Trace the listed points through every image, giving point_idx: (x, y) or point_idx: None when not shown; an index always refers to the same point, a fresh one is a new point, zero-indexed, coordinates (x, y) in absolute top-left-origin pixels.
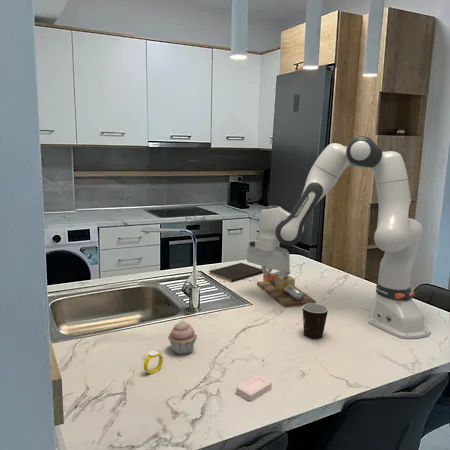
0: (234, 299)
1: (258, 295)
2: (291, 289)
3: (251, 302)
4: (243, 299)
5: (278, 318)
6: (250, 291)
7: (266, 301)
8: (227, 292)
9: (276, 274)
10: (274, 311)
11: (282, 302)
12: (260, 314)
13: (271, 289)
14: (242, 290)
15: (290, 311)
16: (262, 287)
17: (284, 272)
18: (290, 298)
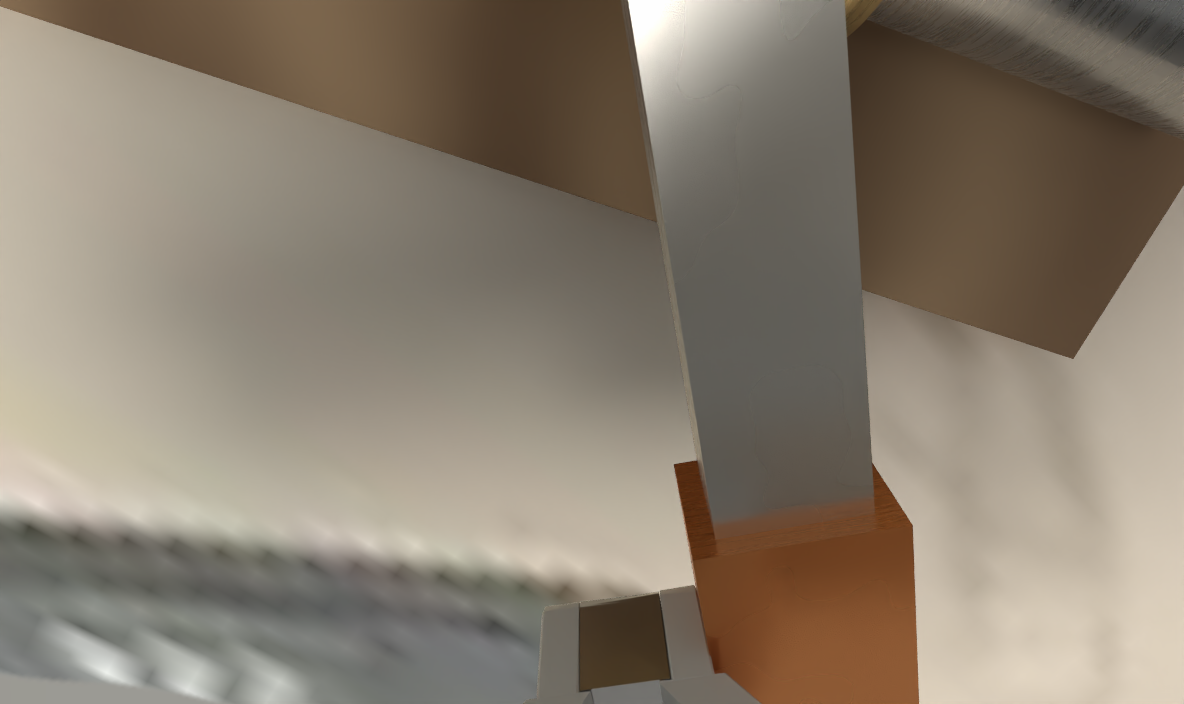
0: (382, 667)
1: (412, 325)
2: (1075, 27)
3: (585, 571)
4: (439, 588)
5: (1161, 624)
6: (188, 312)
7: (683, 390)
8: (102, 602)
9: (909, 525)
10: (1001, 532)
11: (981, 326)
12: (931, 699)
13: (397, 31)
14: (96, 389)
15: (1177, 366)
16: (148, 47)
17: None
18: (995, 77)
